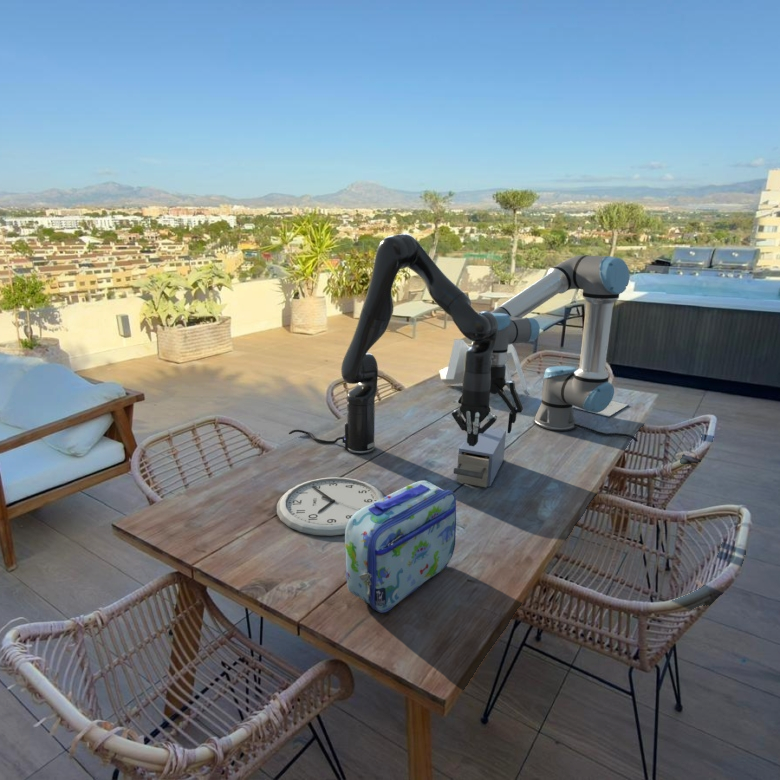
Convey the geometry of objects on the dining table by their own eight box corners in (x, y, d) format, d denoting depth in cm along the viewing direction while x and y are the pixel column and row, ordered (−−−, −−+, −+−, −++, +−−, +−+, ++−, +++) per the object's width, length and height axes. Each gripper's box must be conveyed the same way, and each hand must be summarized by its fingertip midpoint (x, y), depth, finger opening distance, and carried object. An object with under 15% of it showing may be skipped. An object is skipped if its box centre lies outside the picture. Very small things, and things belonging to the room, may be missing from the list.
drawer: (481, 496, 147) (483, 468, 145) (451, 490, 150) (452, 462, 148) (499, 461, 169) (501, 437, 166) (472, 456, 172) (474, 432, 170)
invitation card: (608, 416, 214) (573, 407, 224) (608, 416, 214) (573, 408, 224) (628, 404, 229) (594, 396, 238) (628, 405, 229) (594, 397, 238)
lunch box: (374, 626, 100) (375, 530, 93) (338, 598, 107) (337, 508, 101) (459, 568, 117) (465, 484, 111) (424, 547, 124) (427, 467, 118)
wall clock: (392, 527, 129) (268, 531, 127) (391, 533, 130) (269, 537, 127) (383, 473, 158) (282, 475, 155) (383, 478, 158) (282, 480, 156)
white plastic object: (461, 429, 252) (437, 405, 227) (444, 352, 274) (420, 323, 250) (535, 404, 240) (518, 377, 215) (510, 326, 262) (492, 293, 237)
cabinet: (490, 486, 155) (492, 454, 151) (457, 480, 158) (459, 448, 155) (503, 460, 173) (506, 430, 169) (473, 454, 176) (475, 425, 173)
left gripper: (448, 386, 141) (445, 446, 146) (497, 393, 136) (492, 454, 142) (456, 379, 148) (453, 436, 153) (503, 385, 143) (498, 444, 148)
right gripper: (451, 361, 162) (447, 425, 168) (533, 371, 153) (525, 439, 159) (457, 356, 169) (453, 418, 175) (536, 366, 160) (529, 430, 166)
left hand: (472, 445), depth 147 cm, fingers closed
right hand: (487, 428), depth 167 cm, fingers open, 13 cm apart
